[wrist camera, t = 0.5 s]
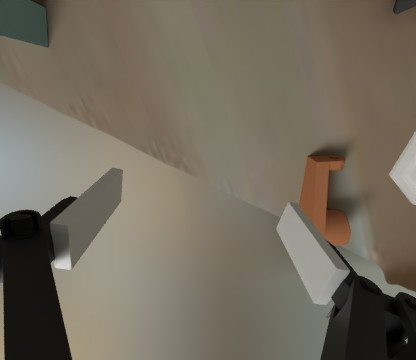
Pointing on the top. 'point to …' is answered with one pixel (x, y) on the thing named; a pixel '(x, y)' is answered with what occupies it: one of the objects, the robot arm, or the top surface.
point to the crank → (323, 199)
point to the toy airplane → (403, 5)
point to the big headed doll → (406, 171)
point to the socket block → (24, 21)
